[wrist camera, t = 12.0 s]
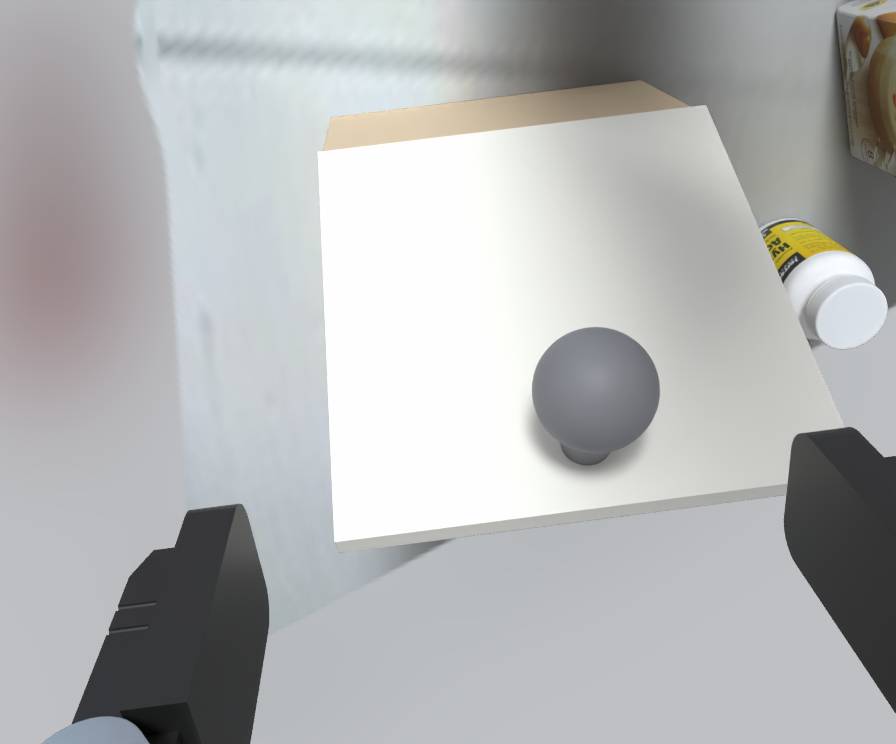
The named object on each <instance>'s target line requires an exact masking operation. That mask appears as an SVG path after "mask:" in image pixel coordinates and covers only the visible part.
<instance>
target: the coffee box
mask: <svg viewBox="0 0 896 744" xmlns="http://www.w3.org/2000/svg"><path fill="white" fill-rule="evenodd" d="M836 16H837V24H838V35H839V44H840V54H841V62H842V72H843V82H844V92H845V101H846V111H847V121H848V131H849V140H850V149H851V155H852V156H854V157H856V158H858V159H860V160H862V161H864V162H866V163H869V164H871V165H873V166H875V167H877V168H879V169H881V170H883V171H885V172H887V173H890V174H892V175H894V176H896V0H853V1H851V2H848V3H846V4H843V5H841V6H840V7H839V8H838V9H837V12H836Z"/></svg>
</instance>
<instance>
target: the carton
mask: <svg viewBox="0 0 896 744" xmlns="http://www.w3.org/2000/svg"><path fill="white" fill-rule="evenodd" d="M684 107H691V106H689V105H687V104H685V103H683V102H681V101H679V100H677V99H675V98H674V97H672V96H670V95H668V94H666V93H664V92H662V91H660V90H659V89H657V88H655V87H653V86H651V85H649V84H647V83H645V82H644V81H642V80H637V81H629V82H621V83H612V84H604V85H596V86H587V87H579V88H571V89H562V90H554V91H546V92H538V93H529V94H521V95H513V96H504V97H496V98H488V99H479V100H471V101H463V102H455V103H446V104H438V105H430V106H421V107H413V108H405V109H396V110H388V111H380V112H372V113H363V114H355V115H347V116H338V117H331V120H330V124H329V128H328V131H327V135H326V139H325V143H324V146H323V150H322V151H329V150H337V149H346V148H354V147H362V146H370V145H379V144H387V143H395V142H403V141H412V140H420V139H428V138H436V137H445V136H453V135H461V134H469V133H478V132H486V131H494V130H502V129H511V128H519V127H527V126H535V125H544V124H552V123H560V122H568V121H577V120H585V119H593V118H601V117H610V116H618V115H626V114H634V113H643V112H651V111H659V110H667V109H676V108H684Z"/></svg>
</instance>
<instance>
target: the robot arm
mask: <svg viewBox="0 0 896 744" xmlns="http://www.w3.org/2000/svg"><path fill="white" fill-rule="evenodd" d="M784 530H785V537H786V541H787V545H788V548H789V551H790V554H791V556H792V558H793V560H794V562H795V563H796V565H797V566H798V568H799V569H800V571H801V572H802V574H803V576H804V577H805V578H806V580H807V581H808V583H809V584H810V586H811V587H812V589H813V590H814V592H815V593H816V595H817V596H818V598H819V599H820V601H821V602H822V604H823V605H824V607H825V608H826V610H827V611H828V613H829V614H830V616H831V617H832V619H833V620H834V622H835V623H836V625H837V626H838V628H839V629H840V631H841V632H842V634H843V635H844V637H845V638H846V640H847V641H848V643H849V644H850V646H851V647H852V649H853V650H854V652H855V653H856V655H857V656H858V658H859V659H860V661H861V662H862V664H863V665H864V667H865V668H866V670H867V671H868V672H869V674H870V676H871V677H872V678H873V680H874V682H875V683H876V685H877V686H878V688H879V689H880V691H881V692H882V694H883V695H884V697H885V698H886V700H887V701H888V703H889V704H890V705H891V707H892V709H893V710H894V712H895V713H896V456H893V457H885V458H884V457H883V456H882V455H881V454H880V453H879V452H878V451H877V450H876V449H875V448H874V447H873V446H872V445H871V444H870V443H869V442H868V441H867V440H866V439H865V438H864V437H863V436H862V435H861V434H860V433H859V432H858V431H857V430H856V429H854V428H852V427H846V428H838V429H830V430H822V431H815V432H807V433H799V434H797V435H796V436H795V438H794V440H793V442H792V446H791V455H790V464H789V474H788V484H787V494H786V504H785V514H784ZM118 608H119V610H118V611H116V612H115V615H114V618H113V620H112V622H111V625H110V628H109V635H107V636H106V638H105V640H104V643H103V645H102V648H101V651H100V653H99V656H98V658H97V661H96V663H95V666H94V668H93V671H92V673H91V676H90V678H89V681H88V684H87V686H86V689H85V691H84V694H83V696H82V699H81V702H80V704H79V707H78V709H77V712H76V714H75V717H74V719H73V722H72V725H70V726H68V727H66V728H64V729H62V730H60V731H58V732H57V733H55V734H54V735H52V736H51V737H49V738H48V739H46V740H45V741H44V742H43V743H42V744H250V741H251V735H252V729H253V723H254V716H255V710H256V703H257V697H258V691H259V685H260V679H261V673H262V667H263V660H264V654H265V647H266V642H267V635H268V628H269V602H268V594H267V588H266V583H265V580H264V576H263V572H262V568H261V565H260V561H259V557H258V553H257V549H256V546H255V542H254V538H253V534H252V531H251V527H250V523H249V519H248V516H247V513H246V510H245V508H244V506H243V505H242V504H234V505H226V506H219V507H211V508H203V509H195V510H189V511H188V512H187V514H186V516H185V518H184V521H183V524H182V527H181V530H180V533H179V536H178V539H177V542H176V545H175V548H168V549H160V550H154V551H153V552H152V553H151V554H150V555H149V556H148V557H147V558H146V559H145V560H144V562H143V563H142V564H141V565H140V566H139V567H138V568H137V569H136V570H135V571H134V572H133V574H132V575H131V576H130V577H129V579H128V582H127V584H126V587H125V589H124V592H123V594H122V597H121V600H120V603H119V605H118Z"/></svg>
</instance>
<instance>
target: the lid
mask: <svg viewBox="0 0 896 744" xmlns="http://www.w3.org/2000/svg"><path fill="white" fill-rule="evenodd" d="M318 169H319V192H320V215H321V239H322V262H323V285H324V309H325V332H326V355H327V379H328V402H329V425H330V449H331V472H332V496H333V519H334V542H335V544H336V547H337V549H338V551H339V553H344V552H352V551H359V550H367V549H375V548H383V547H390V546H398V545H406V544H413V543H421V542H429V541H437V540H444V539H452V538H460V537H467V536H475V535H483V534H491V533H498V532H506V531H514V530H521V529H529V528H537V527H545V526H552V525H560V524H568V523H575V522H583V521H591V520H599V519H606V518H614V517H621V516H629V515H637V514H645V513H652V512H660V511H668V510H676V509H683V508H691V507H699V506H707V505H714V504H721V503H729V502H737V501H745V500H752V499H761V498H768V497H776V496H783V495H786V494H787V484H788V474H789V464H790V455H791V446H792V442H793V440H794V438H795V436H796V435H797V434H799V433H807V432H815V431H822V430H830V429H838V428H845V427H844V424H843V422H842V420H841V417H840V415H839V413H838V410H837V408H836V406H835V403H834V401H833V399H832V397H831V394H830V392H829V389H828V387H827V385H826V382H825V380H824V378H823V376H822V373H821V371H820V369H819V366H818V364H817V362H816V360H815V357H814V355H813V352H812V350H811V348H810V345H809V343H808V341H807V338H806V336H805V334H804V331H803V329H802V327H801V324H800V322H799V320H798V317H797V315H796V313H795V311H794V308H793V306H792V304H791V301H790V299H789V297H788V294H787V292H786V290H785V287H784V285H783V283H782V280H781V278H780V276H779V273H778V271H777V269H776V266H775V264H774V262H773V259H772V257H771V255H770V252H769V250H768V248H767V246H766V243H765V241H764V239H763V236H762V234H761V232H760V229H759V227H758V225H757V222H756V220H755V218H754V215H753V213H752V211H751V208H750V206H749V204H748V201H747V199H746V197H745V194H744V192H743V190H742V187H741V185H740V183H739V180H738V178H737V176H736V174H735V171H734V169H733V167H732V164H731V162H730V160H729V157H728V155H727V153H726V150H725V148H724V146H723V143H722V141H721V139H720V136H719V134H718V132H717V129H716V127H715V125H714V122H713V120H712V118H711V115H710V113H709V111H708V109H707V106H706V105H700V106H692V107H684V108H676V109H667V110H659V111H651V112H643V113H634V114H626V115H618V116H610V117H601V118H593V119H585V120H577V121H568V122H560V123H552V124H544V125H535V126H527V127H519V128H511V129H502V130H494V131H486V132H478V133H469V134H461V135H453V136H445V137H436V138H428V139H420V140H412V141H403V142H395V143H387V144H379V145H370V146H362V147H354V148H346V149H337V150H329V151H321V152H318Z"/></svg>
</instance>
